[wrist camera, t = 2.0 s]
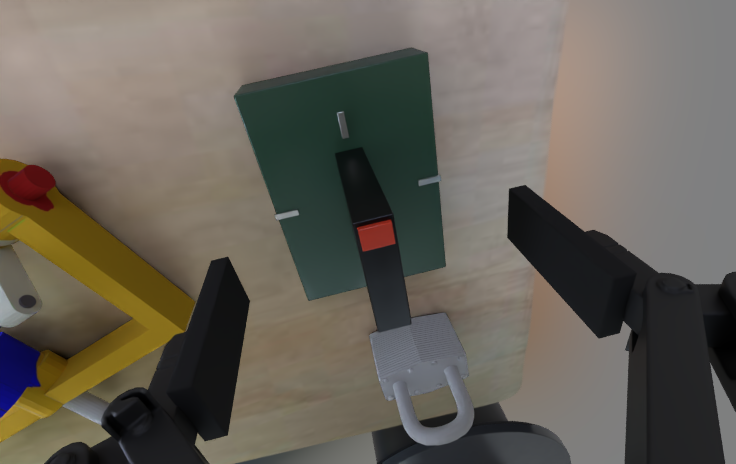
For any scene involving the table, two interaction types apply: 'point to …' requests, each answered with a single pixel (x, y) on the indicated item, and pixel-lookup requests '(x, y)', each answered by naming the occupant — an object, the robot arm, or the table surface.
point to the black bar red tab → (375, 240)
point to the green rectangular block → (341, 133)
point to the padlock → (424, 373)
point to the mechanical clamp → (95, 270)
